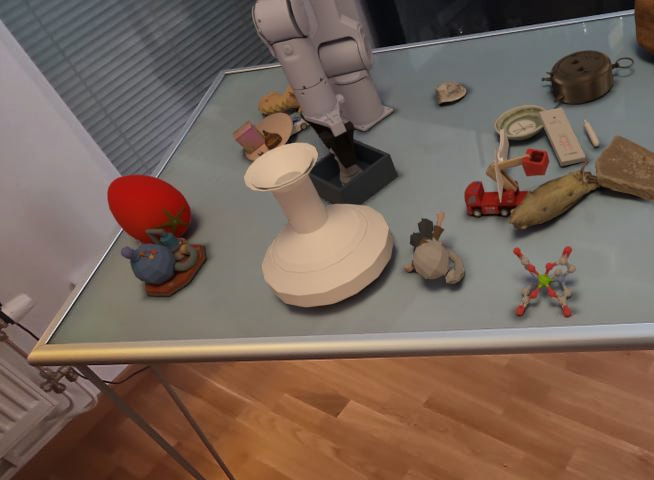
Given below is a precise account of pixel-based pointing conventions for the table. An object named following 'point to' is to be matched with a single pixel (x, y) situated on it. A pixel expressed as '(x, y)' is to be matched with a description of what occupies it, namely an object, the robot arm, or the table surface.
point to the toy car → (298, 124)
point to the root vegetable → (553, 198)
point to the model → (165, 263)
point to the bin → (362, 186)
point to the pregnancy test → (565, 136)
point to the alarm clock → (582, 76)
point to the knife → (501, 159)
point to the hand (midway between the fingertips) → (342, 156)
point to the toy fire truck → (504, 185)
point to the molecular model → (546, 280)
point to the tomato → (148, 206)
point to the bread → (645, 24)
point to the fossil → (449, 92)
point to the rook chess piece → (347, 171)
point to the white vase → (316, 234)
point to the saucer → (520, 122)
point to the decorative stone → (626, 168)
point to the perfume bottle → (264, 135)
